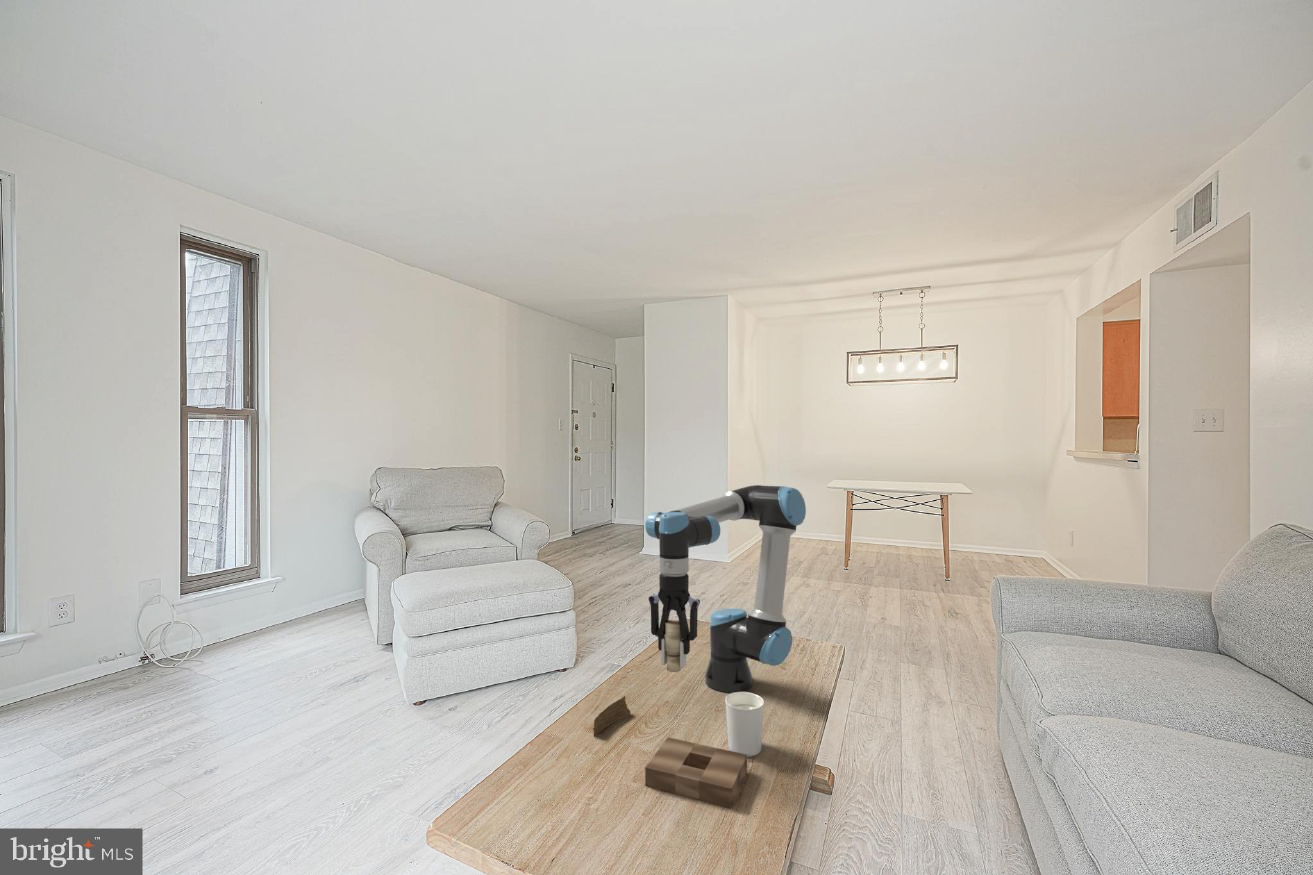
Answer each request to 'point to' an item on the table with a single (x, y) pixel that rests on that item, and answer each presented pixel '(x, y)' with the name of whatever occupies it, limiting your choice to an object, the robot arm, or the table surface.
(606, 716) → the wood plank
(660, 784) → the wooden block with hole
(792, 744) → the table surface
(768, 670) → the table surface
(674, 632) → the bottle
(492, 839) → the table surface
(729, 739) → the candle holder
